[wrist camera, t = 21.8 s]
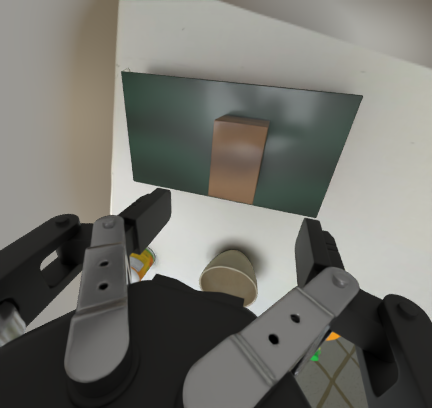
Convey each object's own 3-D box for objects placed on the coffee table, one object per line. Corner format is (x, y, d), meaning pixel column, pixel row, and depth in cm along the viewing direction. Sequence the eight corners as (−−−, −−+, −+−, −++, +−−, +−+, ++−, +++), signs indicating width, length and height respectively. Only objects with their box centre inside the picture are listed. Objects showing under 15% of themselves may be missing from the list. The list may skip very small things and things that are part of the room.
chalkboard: (147, 73, 30) (120, 71, 25) (346, 93, 25) (363, 95, 20) (153, 168, 37) (133, 181, 32) (310, 197, 32) (316, 218, 27)
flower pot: (200, 256, 44) (188, 283, 38) (233, 230, 39) (224, 256, 33) (236, 285, 45) (229, 316, 39) (272, 264, 40) (270, 295, 34)
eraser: (256, 186, 27) (252, 204, 23) (218, 179, 28) (207, 195, 24) (270, 119, 23) (268, 127, 19) (225, 114, 24) (213, 119, 20)
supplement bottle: (149, 266, 50) (123, 302, 41) (130, 252, 49) (100, 286, 41) (159, 255, 47) (134, 291, 39) (140, 240, 46) (109, 273, 38)
